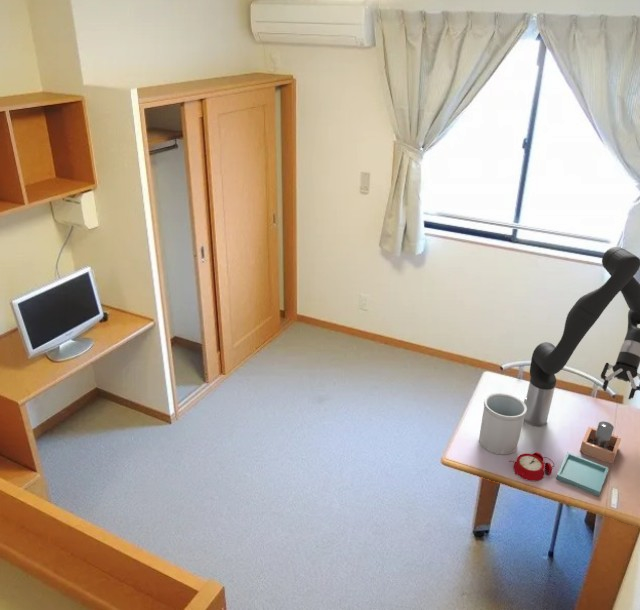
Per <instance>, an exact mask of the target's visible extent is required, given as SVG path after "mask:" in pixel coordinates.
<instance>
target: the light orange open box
mask: <svg viewBox="0 0 640 610" xmlns="http://www.w3.org/2000/svg"><path fill="white" fill-rule="evenodd" d="M596 431H597V428H596V427H593V426H592V427H591V426H588V427H587V430H586V433H585V434H584V436H583V439H582V441H581V445H580V448H579V452H580V453H581V452H582V454H584V455H587V456H589V457H592V458H594V459H597V460H600V461H603V462H605V463H608V464H610V463H611V464H613V463H614V461H615V459H616V455H617V453H618V450H619V446H620V444H621V442H622V438H621V437H619V436H618V435H615V434H613V433H612V435H611V438H610V442H609V445H608V447H612V448H613V450H611V449H610V450H609V449H608V448H607V449H604V448H602V447H599V446H596V445H593V443H591V442H589V440H593V441H594V438H595V435H596Z"/></svg>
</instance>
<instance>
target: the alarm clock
mask: <svg viewBox="0 0 640 610" xmlns="http://www.w3.org/2000/svg"><path fill="white" fill-rule="evenodd" d="M544 458H545V459H548V460H549V461H551V463H552V464H553V466H552V465H551V463H550V462H544V460H545V459H544ZM508 462H509V463H513V471H514V474H515V475H516V476H519V477H520V478H522V479H523V480H525V481H529V482H530V481H531V482H537V481H540V480H541V481H542V479H543V478H544V476H545V472H547V473H548V474H547V476H550V475H551V474H552V471H553V469H554V467H555V463H554V461H553V460H552V459H551V458H549V457H547V456H543V455H542V454H541V453H540V452H533V453H521V454H519V455H518V456H517V457H516V461H514V460H513V461H512V460H509V461H508Z"/></svg>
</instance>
